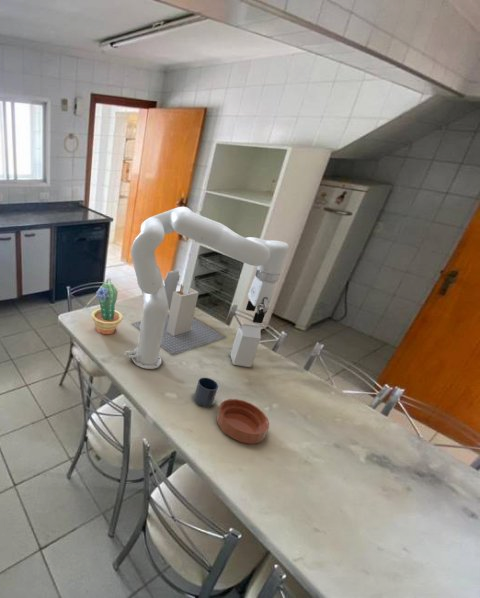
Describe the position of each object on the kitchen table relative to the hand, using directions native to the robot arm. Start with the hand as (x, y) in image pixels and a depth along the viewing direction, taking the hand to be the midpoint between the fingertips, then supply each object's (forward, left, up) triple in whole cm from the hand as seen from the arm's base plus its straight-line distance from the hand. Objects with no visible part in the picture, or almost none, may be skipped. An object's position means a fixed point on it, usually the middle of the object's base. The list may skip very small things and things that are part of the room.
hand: (253, 316), depth 126 cm
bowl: (-12, -29, -27) cm, 41 cm away
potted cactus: (-51, +32, -27) cm, 66 cm away
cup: (-20, -17, -27) cm, 38 cm away
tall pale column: (-12, +59, -27) cm, 66 cm away
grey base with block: (-14, +32, -27) cm, 44 cm away
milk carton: (+6, +7, -27) cm, 29 cm away
